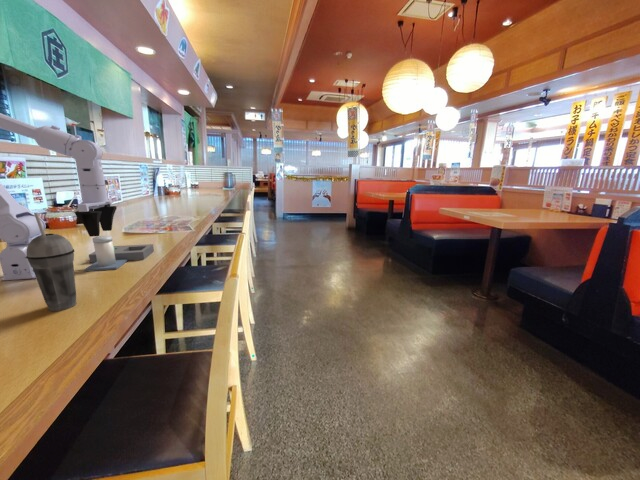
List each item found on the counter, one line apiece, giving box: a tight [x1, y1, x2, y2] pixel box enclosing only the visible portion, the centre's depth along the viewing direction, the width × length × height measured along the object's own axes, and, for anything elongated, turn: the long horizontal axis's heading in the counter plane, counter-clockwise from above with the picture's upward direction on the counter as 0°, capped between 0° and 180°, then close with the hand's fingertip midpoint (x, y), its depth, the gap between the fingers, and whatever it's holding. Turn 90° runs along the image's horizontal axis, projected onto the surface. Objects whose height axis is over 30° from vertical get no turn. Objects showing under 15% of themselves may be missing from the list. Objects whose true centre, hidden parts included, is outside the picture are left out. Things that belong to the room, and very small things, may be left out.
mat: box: [84, 259, 129, 272], centre depth 87 cm, size 8×8×1 cm
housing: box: [88, 243, 155, 264], centre depth 96 cm, size 10×15×2 cm, turn 103°
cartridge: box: [92, 235, 116, 266], centre depth 86 cm, size 5×5×8 cm
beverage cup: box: [26, 212, 77, 312], centre depth 60 cm, size 7×7×20 cm
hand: (101, 233), depth 85 cm, fingers open, 7 cm apart
